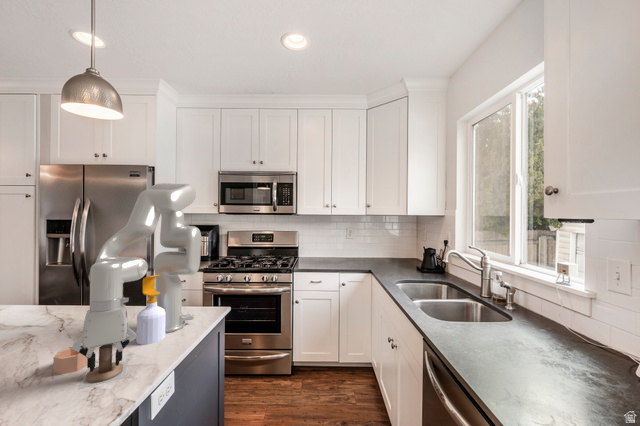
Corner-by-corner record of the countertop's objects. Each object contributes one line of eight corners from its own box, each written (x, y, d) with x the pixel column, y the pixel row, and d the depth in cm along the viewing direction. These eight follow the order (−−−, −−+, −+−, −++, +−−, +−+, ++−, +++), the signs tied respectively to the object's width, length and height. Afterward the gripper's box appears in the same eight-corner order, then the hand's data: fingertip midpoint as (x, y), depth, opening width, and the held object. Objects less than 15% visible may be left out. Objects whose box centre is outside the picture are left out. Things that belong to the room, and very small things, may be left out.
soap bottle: (144, 348, 93) (145, 278, 93) (131, 341, 98) (133, 275, 98) (169, 338, 101) (171, 274, 101) (157, 332, 106) (158, 271, 106)
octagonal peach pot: (92, 358, 87) (93, 342, 87) (87, 370, 80) (87, 353, 80) (59, 365, 82) (59, 348, 83) (50, 378, 76) (50, 361, 76)
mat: (127, 362, 84) (127, 360, 84) (124, 379, 76) (124, 377, 76) (86, 372, 79) (86, 370, 79) (78, 391, 70) (78, 389, 70)
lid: (124, 362, 83) (125, 337, 83) (121, 377, 76) (121, 349, 76) (89, 370, 79) (90, 343, 79) (82, 386, 72) (83, 356, 72)
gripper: (142, 296, 85) (141, 353, 85) (71, 305, 76) (69, 368, 76) (141, 303, 79) (139, 364, 79) (63, 313, 70) (61, 382, 70)
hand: (105, 365), depth 77 cm, fingers open, 5 cm apart
